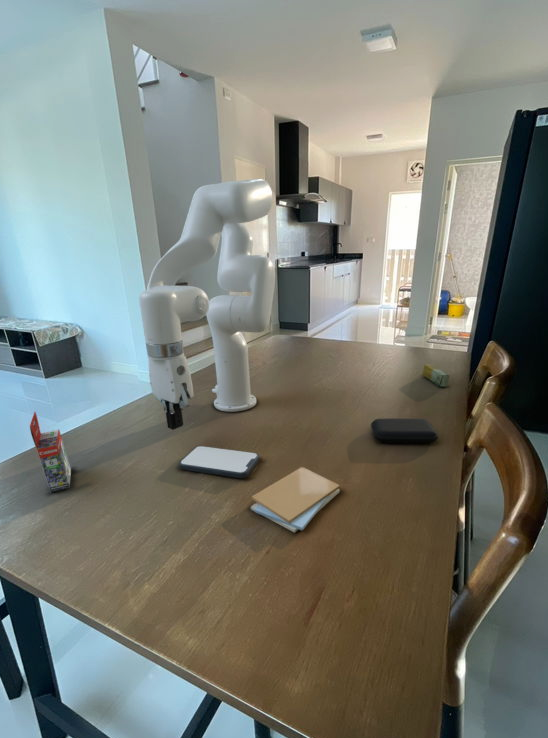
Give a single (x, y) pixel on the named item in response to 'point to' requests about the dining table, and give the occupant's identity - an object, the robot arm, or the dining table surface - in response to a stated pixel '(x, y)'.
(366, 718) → the dining table surface
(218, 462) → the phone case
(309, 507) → the envelope pile
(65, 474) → the ink box
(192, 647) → the dining table surface
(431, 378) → the medication box
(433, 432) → the carrying case
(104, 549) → the dining table surface
